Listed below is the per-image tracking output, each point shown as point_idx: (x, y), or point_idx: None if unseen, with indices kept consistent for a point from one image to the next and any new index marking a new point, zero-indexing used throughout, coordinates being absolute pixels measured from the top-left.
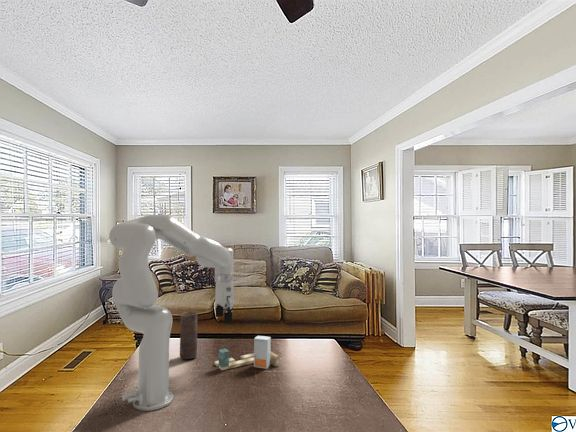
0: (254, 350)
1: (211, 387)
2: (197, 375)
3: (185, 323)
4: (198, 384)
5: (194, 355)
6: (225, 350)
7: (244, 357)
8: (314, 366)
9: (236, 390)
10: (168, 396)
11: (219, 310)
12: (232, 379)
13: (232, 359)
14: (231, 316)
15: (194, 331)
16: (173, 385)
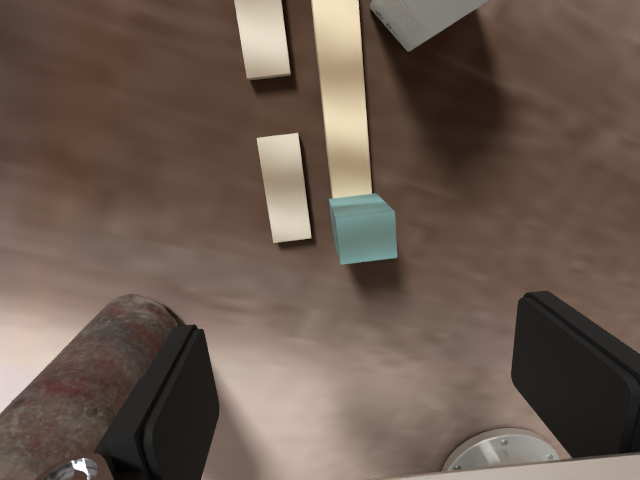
0: (448, 25)
1: (506, 304)
2: (368, 329)
3: None
4: (453, 341)
5: (170, 321)
6: (370, 229)
7: (283, 62)
8: None
9: (591, 224)
10: (520, 448)
11: (187, 448)
12: (485, 207)
13: (286, 144)
14: (595, 335)
15: (108, 422)
16: (413, 415)
